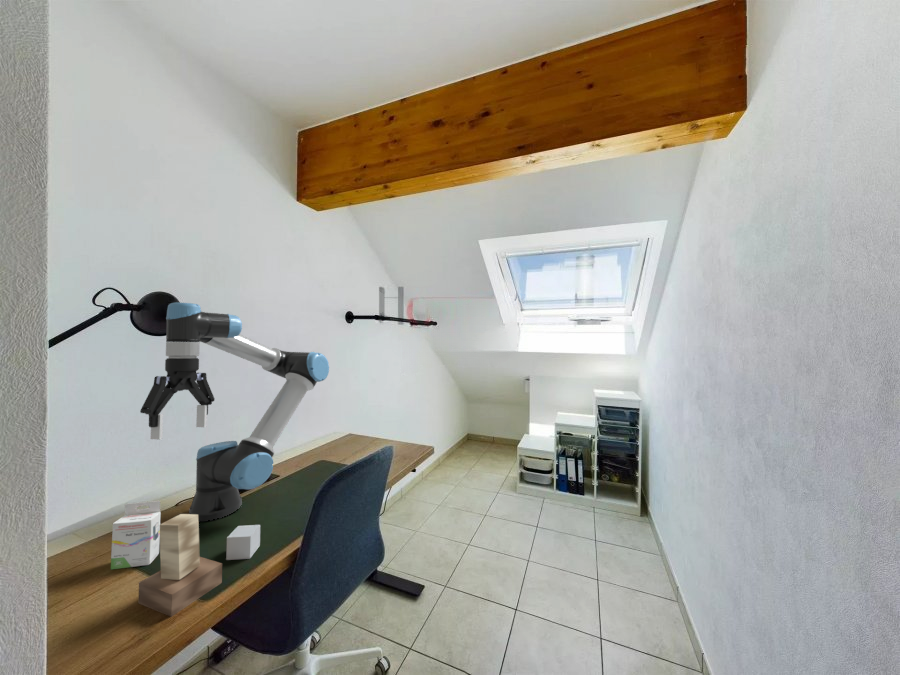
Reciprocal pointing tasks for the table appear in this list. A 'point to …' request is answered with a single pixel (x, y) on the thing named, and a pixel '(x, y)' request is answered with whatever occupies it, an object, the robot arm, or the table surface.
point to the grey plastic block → (243, 542)
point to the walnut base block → (179, 588)
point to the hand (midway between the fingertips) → (180, 432)
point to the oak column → (179, 546)
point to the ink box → (136, 536)
